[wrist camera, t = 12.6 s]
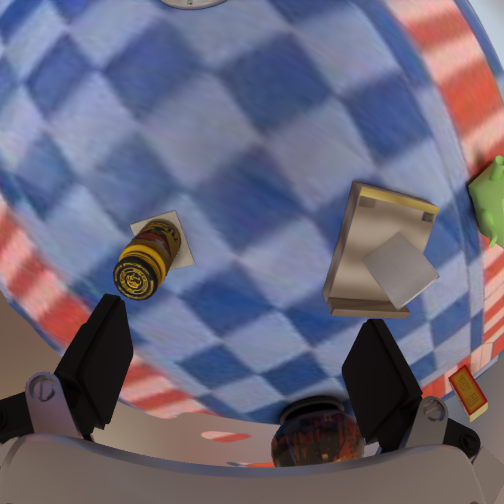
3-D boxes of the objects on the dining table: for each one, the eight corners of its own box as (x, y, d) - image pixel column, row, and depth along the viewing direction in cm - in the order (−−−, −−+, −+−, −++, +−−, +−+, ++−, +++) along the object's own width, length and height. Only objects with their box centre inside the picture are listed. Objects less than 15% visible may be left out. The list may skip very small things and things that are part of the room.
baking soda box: (467, 375, 60) (487, 410, 46) (451, 387, 62) (470, 423, 48) (464, 364, 57) (488, 402, 43) (448, 377, 59) (469, 416, 44)
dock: (352, 180, 35) (370, 191, 30) (427, 201, 36) (450, 213, 31) (322, 292, 43) (331, 315, 37) (392, 297, 44) (407, 318, 39)
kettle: (493, 236, 39) (528, 261, 29) (451, 229, 39) (491, 258, 29) (508, 166, 33) (548, 181, 23) (468, 146, 32) (515, 160, 22)
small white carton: (361, 259, 37) (391, 300, 28) (397, 231, 35) (435, 265, 26) (372, 276, 38) (401, 317, 29) (406, 249, 37) (442, 284, 28)
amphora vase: (255, 426, 61) (259, 522, 36) (292, 382, 53) (310, 505, 28) (324, 432, 65) (340, 514, 40) (369, 390, 57) (402, 487, 31)
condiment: (175, 210, 37) (147, 246, 26) (195, 263, 40) (179, 314, 29) (130, 224, 37) (92, 263, 26) (152, 274, 41) (126, 323, 30)
